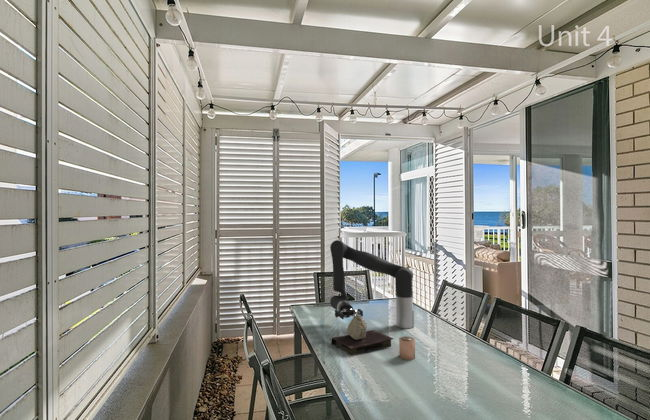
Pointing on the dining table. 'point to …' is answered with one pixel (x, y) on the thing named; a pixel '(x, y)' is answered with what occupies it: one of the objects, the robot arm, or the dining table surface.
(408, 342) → the peach glossy cylinder
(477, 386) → the dining table surface
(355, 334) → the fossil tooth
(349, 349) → the diary
